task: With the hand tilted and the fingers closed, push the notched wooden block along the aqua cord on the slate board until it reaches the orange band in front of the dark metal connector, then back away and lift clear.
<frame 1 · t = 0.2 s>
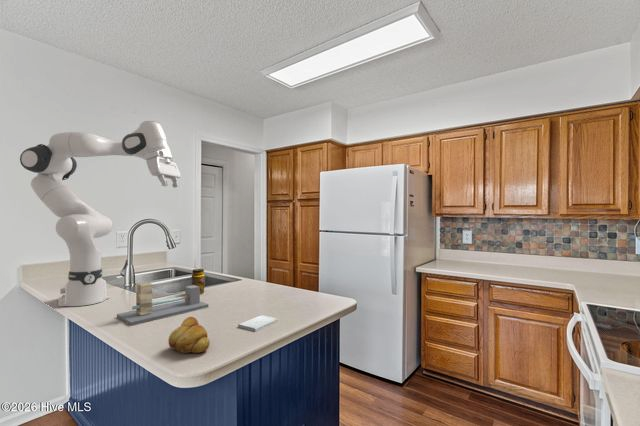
hand: (170, 186, 139), 52 cm above the counter, tool tilted 20°, fingers open, 8 cm apart
notched wooden block: (144, 298, 121), point 7 cm above the counter, slide at 0.0 cm
hard drive: (258, 326, 114), on the counter
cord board: (165, 311, 127), on the counter
bread roll: (189, 350, 93), on the counter
condiment: (195, 294, 156), on the counter
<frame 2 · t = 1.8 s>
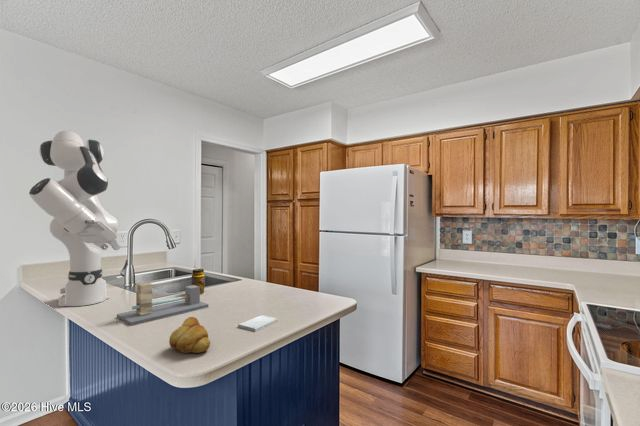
hand: (112, 248, 114), 27 cm above the counter, tool tilted 45°, fingers open, 8 cm apart
nothing on the counter moved.
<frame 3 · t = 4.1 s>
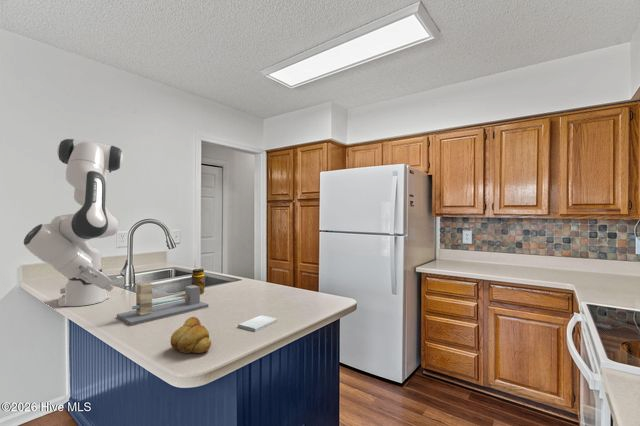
hand: (110, 289, 112), 13 cm above the counter, tool tilted 45°, fingers closed
nothing on the counter moved.
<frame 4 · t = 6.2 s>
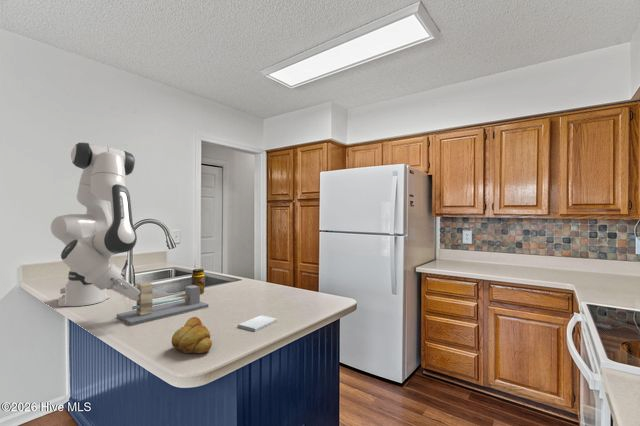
hand: (137, 298, 119), 7 cm above the counter, tool tilted 45°, fingers closed, pressing on notched wooden block
notched wooden block: (144, 298, 121), point 7 cm above the counter, slide at 0.1 cm, touching gripper
everything else where it was.
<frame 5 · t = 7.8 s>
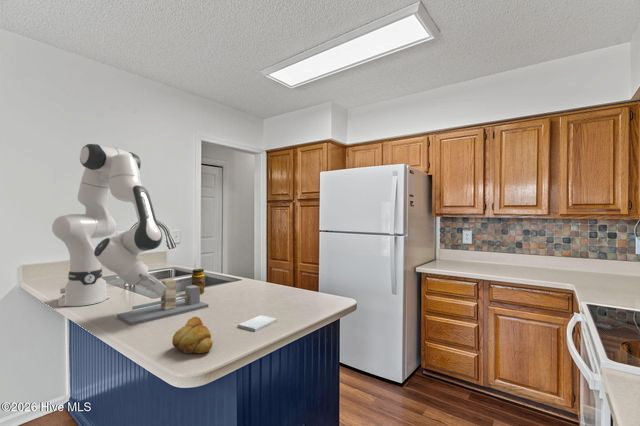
hand: (161, 294, 126), 7 cm above the counter, tool tilted 45°, fingers closed, pressing on notched wooden block
notched wooden block: (168, 293, 128), point 7 cm above the counter, slide at 9.2 cm, touching gripper
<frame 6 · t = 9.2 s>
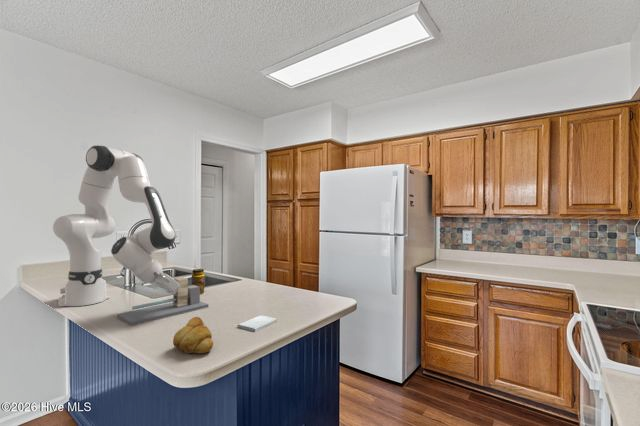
hand: (174, 292, 130), 7 cm above the counter, tool tilted 45°, fingers closed, pressing on notched wooden block
notched wooden block: (180, 291, 132), point 7 cm above the counter, slide at 14.2 cm, touching gripper
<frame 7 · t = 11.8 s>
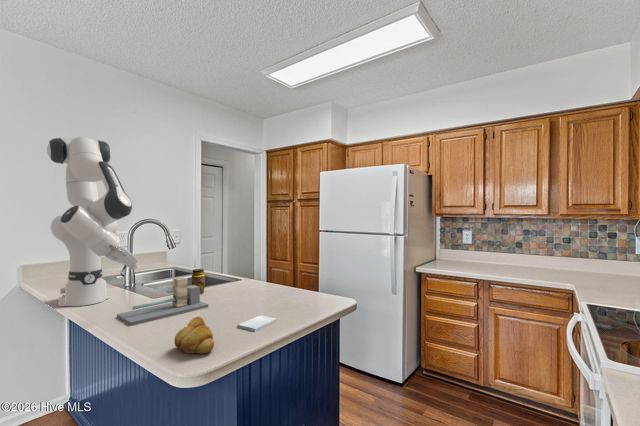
hand: (134, 268, 121), 19 cm above the counter, tool tilted 45°, fingers closed
notched wooden block: (180, 291, 132), point 7 cm above the counter, slide at 14.0 cm
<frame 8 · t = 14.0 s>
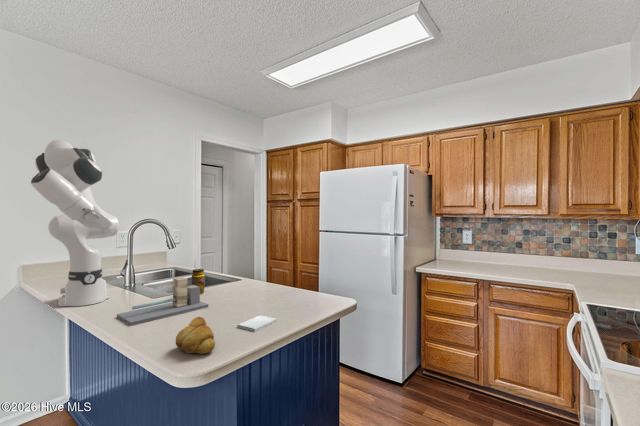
hand: (111, 234, 121), 31 cm above the counter, tool tilted 45°, fingers closed
at the end: notched wooden block slide at 14.0 cm; the gripper is holding nothing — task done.
